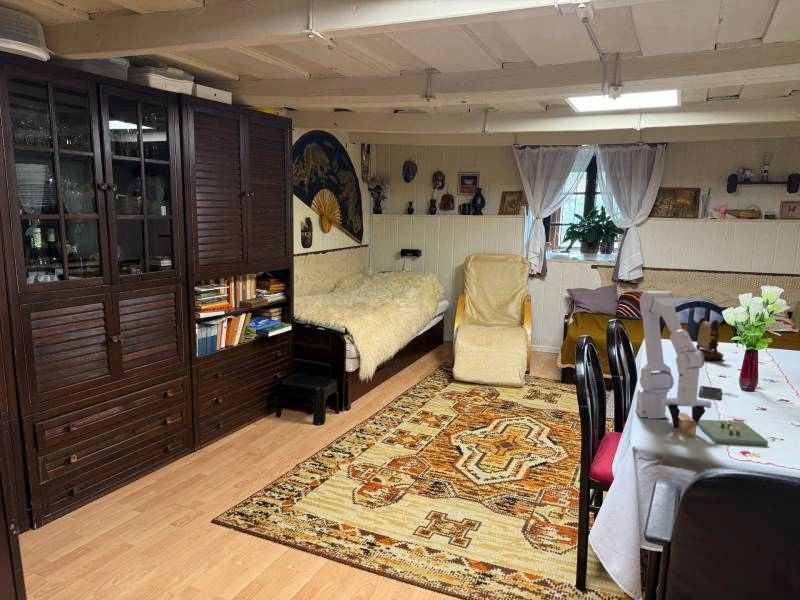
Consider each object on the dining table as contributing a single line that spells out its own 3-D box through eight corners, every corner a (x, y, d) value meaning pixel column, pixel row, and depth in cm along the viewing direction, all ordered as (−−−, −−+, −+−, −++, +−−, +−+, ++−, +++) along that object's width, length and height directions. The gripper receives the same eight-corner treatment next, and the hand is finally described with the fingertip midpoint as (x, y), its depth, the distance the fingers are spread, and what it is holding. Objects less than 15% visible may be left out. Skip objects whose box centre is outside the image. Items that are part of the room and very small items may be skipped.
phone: (698, 395, 223) (700, 385, 236) (698, 398, 224) (700, 388, 236) (721, 398, 220) (722, 388, 232) (721, 401, 220) (722, 391, 233)
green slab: (715, 442, 178) (716, 432, 177) (695, 423, 195) (696, 413, 194) (767, 445, 176) (768, 435, 175) (742, 426, 193) (743, 416, 192)
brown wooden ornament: (682, 356, 290) (686, 317, 287) (702, 353, 296) (706, 315, 293) (709, 363, 276) (712, 322, 273) (729, 360, 282) (733, 320, 280)
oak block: (682, 437, 183) (683, 422, 182) (672, 426, 192) (674, 412, 191) (695, 437, 183) (696, 422, 182) (685, 427, 191) (686, 413, 191)
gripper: (668, 389, 182) (664, 430, 184) (716, 392, 180) (712, 433, 182) (661, 383, 189) (658, 422, 191) (707, 385, 187) (704, 425, 189)
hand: (684, 427), depth 187 cm, fingers open, 5 cm apart
